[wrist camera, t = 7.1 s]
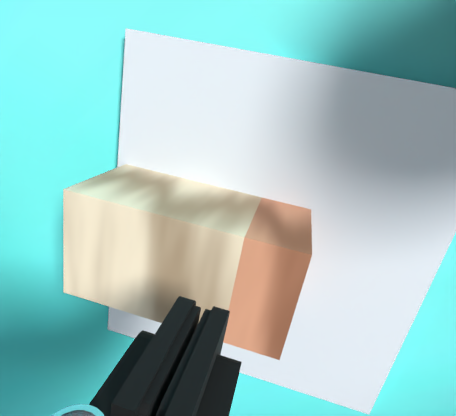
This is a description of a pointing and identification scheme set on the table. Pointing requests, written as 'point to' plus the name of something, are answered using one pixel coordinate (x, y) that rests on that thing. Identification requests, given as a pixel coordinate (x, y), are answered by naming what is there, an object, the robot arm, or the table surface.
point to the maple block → (187, 251)
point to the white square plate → (308, 190)
